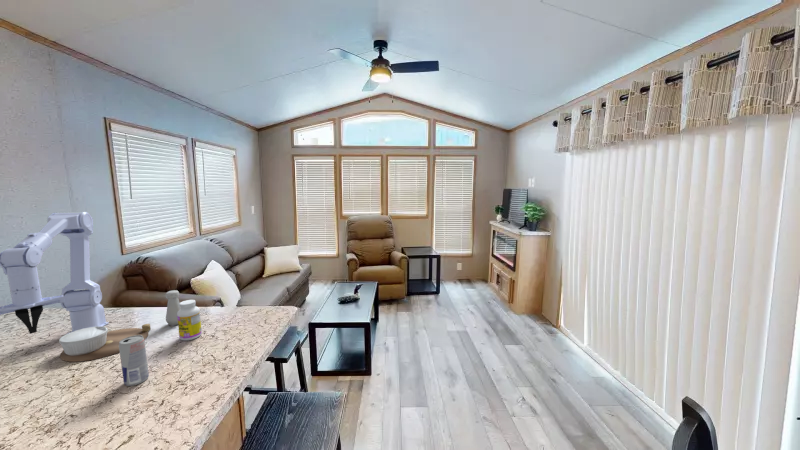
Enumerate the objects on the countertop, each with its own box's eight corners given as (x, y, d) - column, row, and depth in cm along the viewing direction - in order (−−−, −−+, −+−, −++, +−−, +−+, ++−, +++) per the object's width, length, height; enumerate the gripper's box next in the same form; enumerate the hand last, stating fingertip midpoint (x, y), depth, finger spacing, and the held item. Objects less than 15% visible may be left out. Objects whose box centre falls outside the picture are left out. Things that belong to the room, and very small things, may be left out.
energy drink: (133, 375, 90) (128, 335, 89) (153, 374, 91) (148, 334, 89) (118, 387, 85) (112, 344, 84) (140, 385, 86) (134, 343, 84)
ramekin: (117, 343, 108) (115, 328, 107) (75, 360, 98) (72, 344, 97) (96, 338, 112) (94, 324, 111) (53, 354, 101) (50, 339, 100)
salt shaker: (175, 327, 120) (171, 294, 119) (162, 326, 121) (158, 293, 120) (188, 320, 126) (184, 289, 124) (176, 319, 127) (172, 288, 125)
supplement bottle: (175, 339, 111) (171, 304, 109) (193, 331, 117) (190, 297, 115) (188, 342, 109) (184, 306, 107) (206, 334, 115) (203, 299, 113)
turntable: (94, 331, 117) (93, 325, 117) (161, 326, 121) (160, 320, 121) (38, 365, 96) (37, 358, 96) (121, 357, 100) (120, 350, 99)
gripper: (-16, 298, 85) (-7, 345, 87) (62, 284, 96) (69, 326, 98) (-15, 292, 90) (-6, 338, 91) (60, 280, 101) (66, 320, 103)
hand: (33, 332), depth 95 cm, fingers closed
